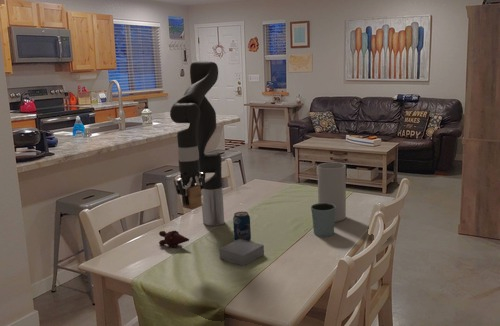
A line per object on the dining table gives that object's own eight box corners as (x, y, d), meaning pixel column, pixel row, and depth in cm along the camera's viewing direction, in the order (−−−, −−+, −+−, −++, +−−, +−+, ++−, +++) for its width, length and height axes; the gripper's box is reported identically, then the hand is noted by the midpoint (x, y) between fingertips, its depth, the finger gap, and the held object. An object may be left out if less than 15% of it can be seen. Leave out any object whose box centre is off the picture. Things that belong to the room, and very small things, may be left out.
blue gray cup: (338, 230, 201) (338, 203, 199) (332, 239, 192) (331, 211, 190) (315, 228, 206) (315, 201, 203) (308, 236, 197) (307, 208, 194)
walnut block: (182, 207, 174) (181, 186, 173) (192, 203, 178) (191, 183, 176) (191, 209, 171) (190, 188, 169) (201, 205, 175) (200, 185, 173)
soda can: (238, 245, 190) (237, 217, 187) (231, 240, 196) (230, 213, 193) (254, 242, 193) (252, 214, 190) (246, 237, 199) (245, 210, 196)
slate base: (219, 258, 178) (219, 248, 177) (240, 248, 187) (240, 238, 186) (243, 265, 171) (243, 255, 170) (264, 254, 180) (263, 245, 179)
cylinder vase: (315, 221, 214) (314, 168, 209) (321, 212, 226) (321, 162, 220) (342, 223, 210) (342, 169, 204) (347, 214, 221) (347, 163, 216)
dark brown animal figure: (194, 230, 191) (165, 228, 198) (183, 231, 185) (153, 230, 192) (194, 247, 191) (164, 245, 198) (183, 249, 184) (153, 247, 192)
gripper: (196, 153, 178) (199, 196, 182) (166, 160, 168) (170, 206, 171) (209, 155, 174) (212, 199, 177) (180, 163, 163) (184, 209, 167)
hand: (191, 202), depth 174 cm, fingers closed on walnut block, 5 cm apart
